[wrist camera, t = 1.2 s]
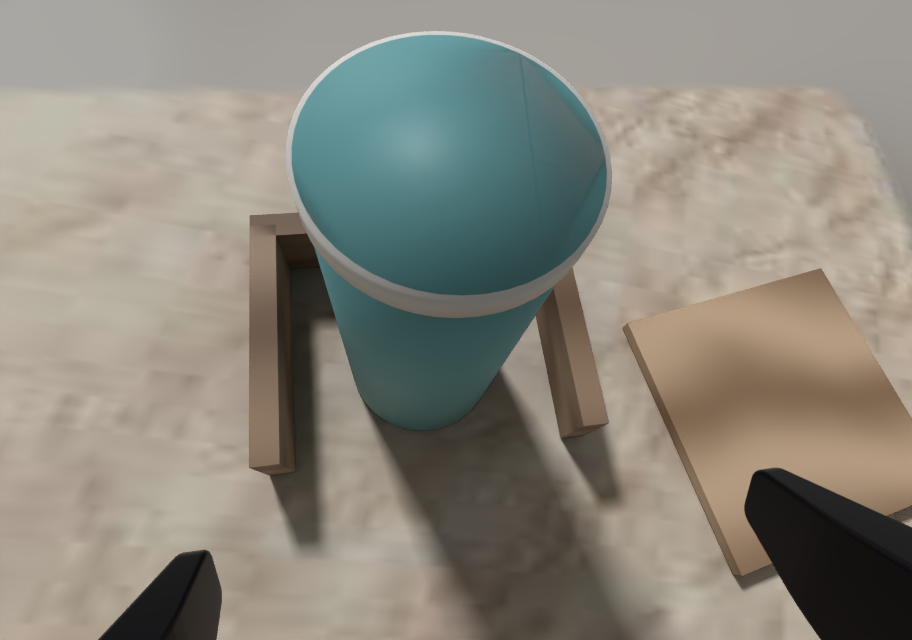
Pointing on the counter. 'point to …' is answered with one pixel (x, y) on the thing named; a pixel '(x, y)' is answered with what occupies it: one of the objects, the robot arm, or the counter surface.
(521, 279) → the tin
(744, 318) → the mat
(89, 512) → the counter surface
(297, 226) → the cubby
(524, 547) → the counter surface
